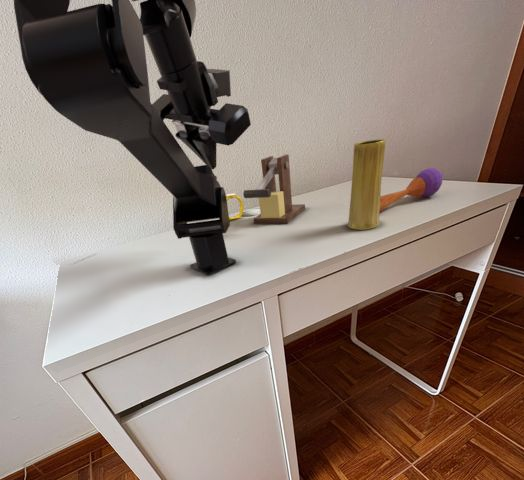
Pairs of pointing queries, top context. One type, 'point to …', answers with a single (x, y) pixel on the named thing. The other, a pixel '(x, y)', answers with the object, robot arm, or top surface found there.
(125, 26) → the robot arm
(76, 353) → the top surface
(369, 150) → the vase
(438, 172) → the maraca
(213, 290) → the top surface
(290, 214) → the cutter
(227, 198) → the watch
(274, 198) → the butter
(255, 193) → the angled grey lever
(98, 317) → the top surface
